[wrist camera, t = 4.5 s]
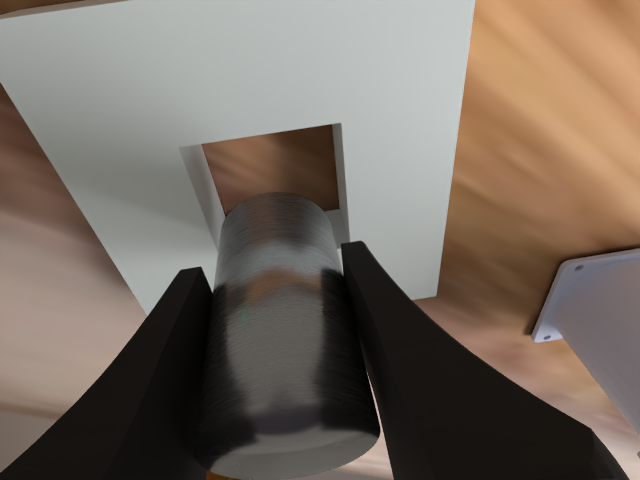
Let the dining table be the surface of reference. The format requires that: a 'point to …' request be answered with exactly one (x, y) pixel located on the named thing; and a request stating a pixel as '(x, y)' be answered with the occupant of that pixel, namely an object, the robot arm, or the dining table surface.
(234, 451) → the peg
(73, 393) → the dining table surface
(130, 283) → the socket
